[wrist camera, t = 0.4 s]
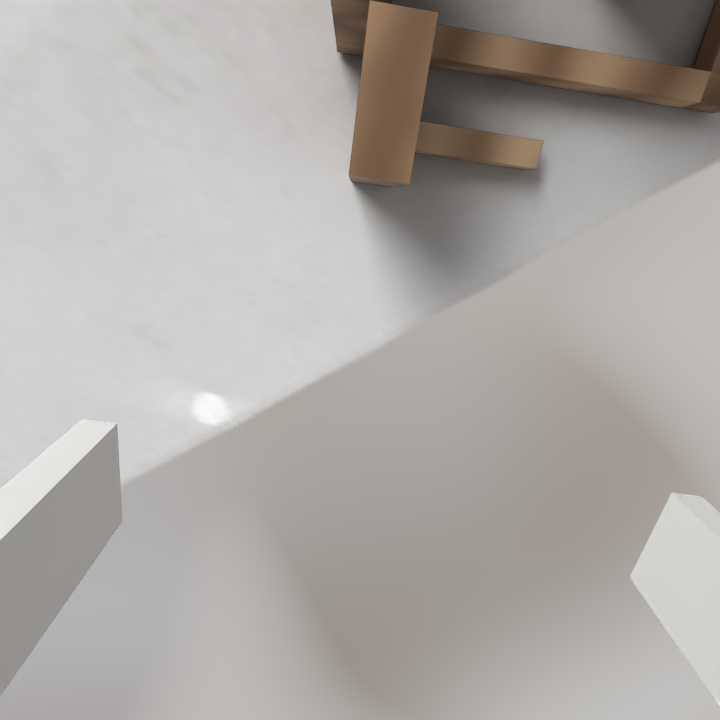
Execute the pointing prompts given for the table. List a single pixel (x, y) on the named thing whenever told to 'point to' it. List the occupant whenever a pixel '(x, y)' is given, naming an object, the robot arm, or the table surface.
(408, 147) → the wooden mallet
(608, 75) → the bent wooden rail
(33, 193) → the table surface
